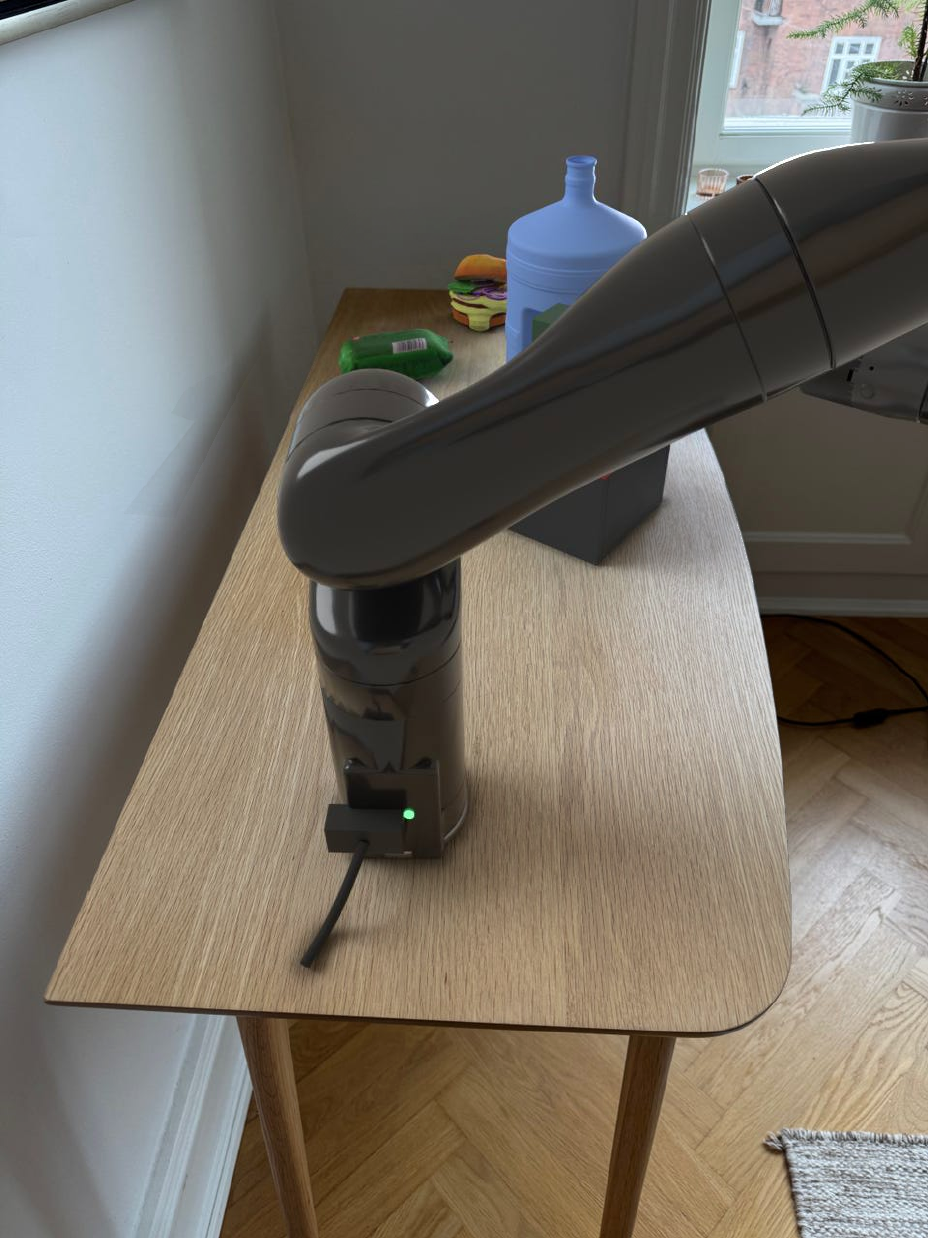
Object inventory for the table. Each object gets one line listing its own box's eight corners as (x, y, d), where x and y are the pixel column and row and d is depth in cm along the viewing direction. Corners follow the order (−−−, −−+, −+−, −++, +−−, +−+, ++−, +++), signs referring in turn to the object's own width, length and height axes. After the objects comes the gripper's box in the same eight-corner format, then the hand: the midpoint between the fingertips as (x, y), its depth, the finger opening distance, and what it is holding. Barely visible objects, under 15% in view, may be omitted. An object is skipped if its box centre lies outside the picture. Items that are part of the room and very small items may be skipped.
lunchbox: (453, 506, 98) (451, 424, 91) (525, 452, 106) (528, 373, 99) (596, 565, 89) (604, 480, 83) (662, 502, 98) (674, 419, 91)
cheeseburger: (442, 331, 131) (442, 256, 126) (455, 319, 140) (455, 249, 136) (512, 333, 129) (515, 258, 125) (521, 321, 139) (523, 250, 134)
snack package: (461, 380, 120) (460, 342, 116) (342, 395, 117) (338, 357, 113) (448, 357, 125) (447, 320, 122) (334, 372, 122) (330, 334, 119)
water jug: (487, 383, 119) (486, 148, 100) (598, 365, 122) (617, 134, 104) (530, 442, 107) (539, 188, 89) (651, 419, 111) (683, 171, 92)
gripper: (921, 281, 71) (727, 240, 79) (858, 346, 63) (647, 292, 70) (892, 371, 76) (712, 324, 83) (830, 442, 67) (636, 382, 75)
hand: (682, 309), depth 77 cm, fingers open, 8 cm apart
